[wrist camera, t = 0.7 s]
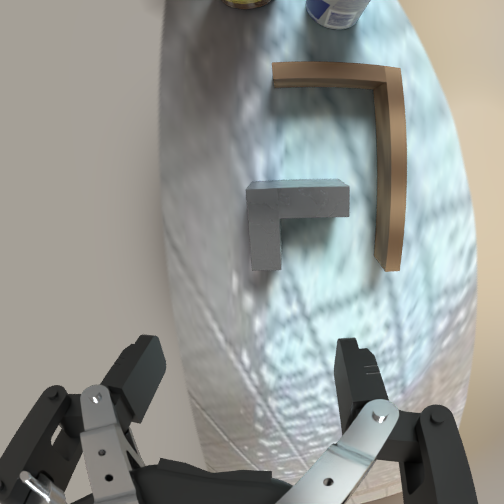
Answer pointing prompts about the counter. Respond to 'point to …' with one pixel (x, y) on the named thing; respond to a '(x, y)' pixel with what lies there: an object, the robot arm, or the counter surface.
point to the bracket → (288, 212)
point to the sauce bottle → (245, 3)
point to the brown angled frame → (387, 133)
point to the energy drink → (336, 12)
